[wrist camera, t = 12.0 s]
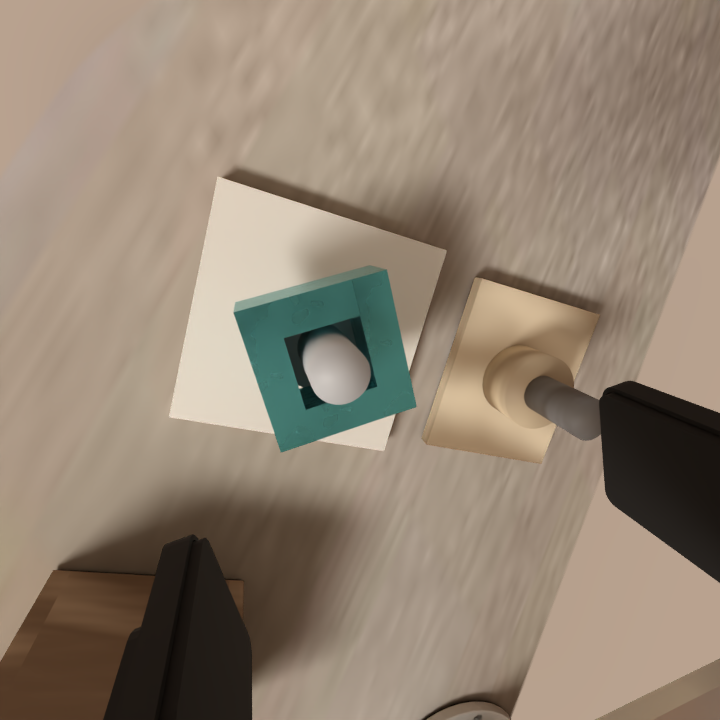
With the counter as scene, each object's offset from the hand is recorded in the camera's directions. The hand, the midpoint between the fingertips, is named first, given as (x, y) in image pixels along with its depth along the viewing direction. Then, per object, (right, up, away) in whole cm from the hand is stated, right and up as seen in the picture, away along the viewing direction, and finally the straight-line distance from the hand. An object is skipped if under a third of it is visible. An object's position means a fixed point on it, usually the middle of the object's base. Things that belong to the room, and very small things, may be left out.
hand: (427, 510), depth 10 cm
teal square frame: (-3, +4, +13) cm, 14 cm away
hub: (-5, +5, +18) cm, 19 cm away
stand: (+9, +2, +23) cm, 24 cm away
